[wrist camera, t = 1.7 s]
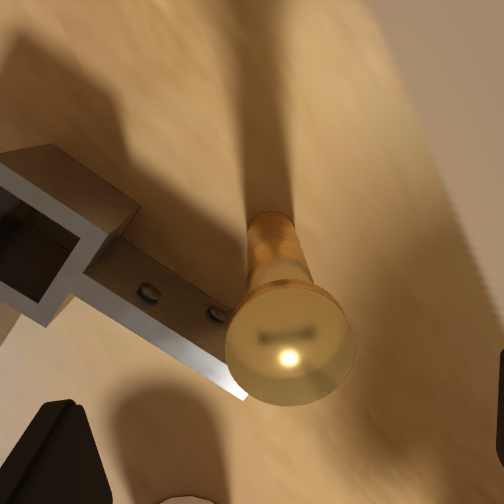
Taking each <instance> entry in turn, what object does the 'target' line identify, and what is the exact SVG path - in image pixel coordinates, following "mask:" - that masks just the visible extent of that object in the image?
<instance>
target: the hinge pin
mask: <svg viewBox="0 0 504 504" xmlns="http://www.w3.org/2000/svg"><path fill="white" fill-rule="evenodd" d="M354 353H355V341H354V335H353V332H352V329H351V327H350V325H349V322H348V320H347V318H346V316H345V314H344V312H343V309H342V307H341V306H340V304H339V303H338V302H337V300H336V299H335V298H334V297H333V296H332V295H331V294H330V293H328V292H327V291H326V290H324V289H323V288H321V287H319V286H317V285H315V284H314V282H313V279H312V276H311V273H310V271H309V268H308V265H307V262H306V259H305V257H304V254H303V251H302V248H301V245H300V243H299V240H298V237H297V234H296V231H295V229H294V226H293V224H292V222H291V221H290V219H289V218H288V217H286V216H285V215H283V214H281V213H278V212H265V213H262V214H260V215H258V216H257V217H256V218H255V219H254V220H253V221H252V222H251V224H250V226H249V229H248V237H247V273H246V295H245V296H244V297H243V298H242V299H241V300H240V301H239V302H238V303H237V305H236V306H235V308H234V309H233V311H232V313H231V315H230V318H229V321H228V326H227V332H226V341H225V359H226V363H227V367H228V369H229V372H230V374H231V376H232V377H233V379H234V381H235V382H236V383H237V384H238V385H239V387H241V388H242V389H243V390H244V391H245V392H246V393H248V394H249V395H250V396H252V397H254V398H256V399H258V400H260V401H262V402H265V403H268V404H272V405H278V406H298V405H304V404H308V403H311V402H314V401H316V400H319V399H321V398H323V397H325V396H326V395H328V394H329V393H331V392H332V391H333V390H335V389H336V388H337V387H338V386H339V385H340V384H341V382H342V381H343V380H344V379H345V377H346V376H347V374H348V372H349V370H350V368H351V366H352V363H353V359H354Z"/></svg>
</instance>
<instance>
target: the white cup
mask: <svg viewBox="0 0 504 504" xmlns="http://www.w3.org/2000/svg"><path fill="white" fill-rule="evenodd" d="M160 504H214V503H212V502H211V501H209V500H205V499H201V498H197V497H193V496H184V497H174V498H169V499H167V500H165V501H163V502H162V503H160Z"/></svg>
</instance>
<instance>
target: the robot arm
mask: <svg viewBox="0 0 504 504" xmlns="http://www.w3.org/2000/svg"><path fill="white" fill-rule="evenodd" d="M496 450H497V454H498V457H499V460H500V462H501V464H502V465H503V467H504V349H503V350H502V351H501V354H500V371H499V393H498V414H497V435H496ZM0 504H113V498H112V492H111V489H110V486H109V483H108V480H107V477H106V474H105V471H104V468H103V465H102V462H101V459H100V456H99V453H98V450H97V447H96V444H95V441H94V438H93V435H92V432H91V429H90V426H89V423H88V420H87V416H86V413H85V410H84V408H83V406H82V405H76V403H75V402H74V401H73V400H71V399H67V400H60V401H52V402H46V403H44V404H43V405H42V406H41V408H40V409H39V411H38V412H37V414H36V415H35V417H34V418H33V420H32V421H31V423H30V424H29V426H28V427H27V429H26V430H25V432H24V433H23V435H22V436H21V438H20V439H19V441H18V442H17V444H16V445H15V447H14V448H13V450H12V451H11V453H10V454H9V456H8V457H7V459H6V460H5V462H4V463H3V465H2V466H1V468H0Z"/></svg>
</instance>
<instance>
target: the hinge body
mask: <svg viewBox="0 0 504 504" xmlns="http://www.w3.org/2000/svg"><path fill="white" fill-rule="evenodd" d="M33 207H34V208H35V209H37V210H38V211H40V212H41V213H43V214H44V215H46V216H47V217H49V218H50V219H52V220H53V221H55V222H56V223H58V224H59V225H61V226H63V227H64V228H66V229H67V230H69V231H70V232H72V233H73V234H75V235H76V236H78V237H79V238H81V239H80V240H79V242H78V243H77V245H76V246H75V248H74V249H73V251H72V252H71V253H70V252H69V251H67V250H66V249H64V248H63V247H61V246H60V245H58V244H56V243H55V242H53V241H52V240H50V239H49V238H47V237H46V236H44V235H43V234H41V233H39V232H38V231H36V230H35V229H33V228H32V227H30V226H29V225H27V224H25V223H24V222H25V220H26V219H27V217H28V215H29V214H30V212H31V210H32V209H33ZM139 207H140V205H139V204H137V203H136V202H135V201H133V200H132V199H130V198H129V197H127V196H126V195H124V194H123V193H122V192H120V191H119V190H117V189H116V188H114V187H113V186H111V185H110V184H109V183H107V182H106V181H104V180H103V179H101V178H100V177H98V176H97V175H95V174H94V173H93V172H91V171H90V170H88V169H87V168H85V167H84V166H82V165H81V164H80V163H78V162H77V161H75V160H74V159H72V158H71V157H69V156H68V155H67V154H65V153H64V152H62V151H61V150H59V149H58V148H56V147H55V146H53V145H52V144H47V145H42V146H36V147H31V148H25V149H20V150H15V151H9V152H4V153H0V346H1V345H2V343H3V342H4V340H5V338H6V337H7V335H8V334H9V332H10V331H11V329H12V327H13V326H14V324H15V323H16V321H17V320H18V318H19V317H20V315H21V313H22V314H24V315H25V316H27V317H29V318H30V319H32V320H34V321H35V322H37V323H39V324H40V325H42V326H44V327H45V328H46V327H47V326H48V325H49V324H50V323H51V322H52V321H53V320H54V319H55V318H56V317H57V315H58V314H59V313H60V312H61V311H62V310H63V309H64V308H65V307H66V306H67V305H68V304H69V303H70V301H71V300H72V299H73V298H74V297H75V296H76V297H78V298H79V299H81V300H83V301H84V302H86V303H87V304H89V305H91V306H92V307H94V308H95V309H97V310H99V311H100V312H102V313H103V314H105V315H107V316H108V317H110V318H111V319H113V320H115V321H116V322H118V323H119V324H121V325H123V326H124V327H126V328H127V329H129V330H131V331H132V332H134V333H135V334H137V335H139V336H140V337H142V338H143V339H145V340H147V341H148V342H150V343H151V344H153V345H155V346H156V347H158V348H159V349H161V350H163V351H164V352H166V353H167V354H169V355H171V356H172V357H174V358H175V359H177V360H179V361H180V362H182V363H184V364H185V365H187V366H188V367H190V368H192V369H193V370H195V371H196V372H198V373H200V374H201V375H203V376H204V377H206V378H208V379H209V380H211V381H212V382H214V383H216V384H217V385H219V386H220V387H222V388H224V389H225V390H227V391H228V392H230V393H232V394H233V395H235V396H236V397H238V398H240V399H241V400H244V399H245V397H246V396H247V395H248V393H246V392H245V391H244V390H243V389H242V388H241V387H239V385H238V384H237V383H236V382H235V381H234V379H233V377H232V376H231V374H230V372H229V369H228V367H227V363H226V359H225V341H226V332H227V326H228V321H229V318H230V315H231V313H232V311H231V310H229V309H228V308H226V307H225V306H223V305H222V304H220V303H219V302H217V301H216V300H214V299H213V298H211V297H210V296H208V295H207V294H205V293H204V292H202V291H201V290H199V289H198V288H196V287H195V286H193V285H192V284H190V283H189V282H187V281H186V280H184V279H183V278H181V277H180V276H178V275H177V274H175V273H174V272H172V271H171V270H169V269H168V268H166V267H165V266H163V265H162V264H160V263H159V262H157V261H156V260H154V259H153V258H151V257H150V256H148V255H147V254H145V253H144V252H142V251H141V250H139V249H138V248H136V247H135V246H133V245H132V244H130V243H129V242H127V241H126V240H124V239H123V238H121V237H120V235H121V234H122V232H123V231H124V229H125V228H126V226H127V225H128V223H129V222H130V220H131V219H132V218H133V216H134V215H135V213H136V212H137V210H138V209H139Z"/></svg>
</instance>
